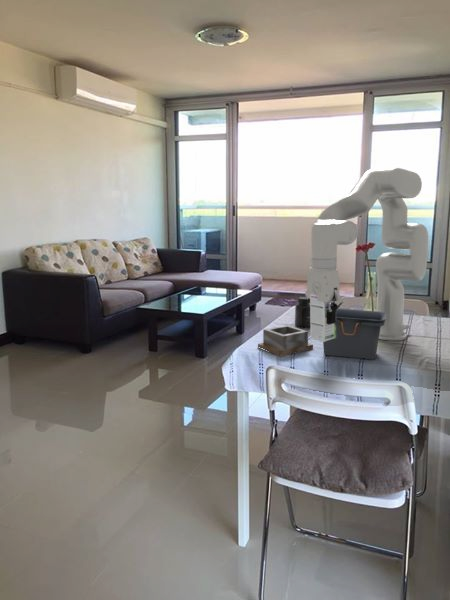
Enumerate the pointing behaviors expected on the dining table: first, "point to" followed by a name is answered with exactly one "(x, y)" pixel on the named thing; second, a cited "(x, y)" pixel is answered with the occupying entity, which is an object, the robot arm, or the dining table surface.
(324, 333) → the syrup box
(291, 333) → the post base
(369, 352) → the storage bin
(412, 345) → the dining table surface
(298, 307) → the supplement bottle
